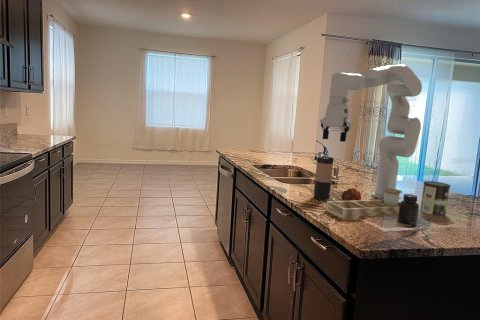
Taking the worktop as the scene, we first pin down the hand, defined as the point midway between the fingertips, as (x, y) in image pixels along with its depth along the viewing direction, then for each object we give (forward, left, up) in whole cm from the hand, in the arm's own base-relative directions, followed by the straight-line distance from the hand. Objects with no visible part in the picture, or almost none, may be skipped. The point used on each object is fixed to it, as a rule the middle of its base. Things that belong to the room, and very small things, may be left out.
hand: (333, 140), depth 162 cm
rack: (-10, +17, -29) cm, 35 cm away
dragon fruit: (-11, +3, -30) cm, 32 cm away
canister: (-21, +17, -28) cm, 39 cm away
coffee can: (-40, +22, -30) cm, 54 cm away
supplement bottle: (-15, +33, -30) cm, 46 cm away
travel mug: (-3, -9, -29) cm, 31 cm away
